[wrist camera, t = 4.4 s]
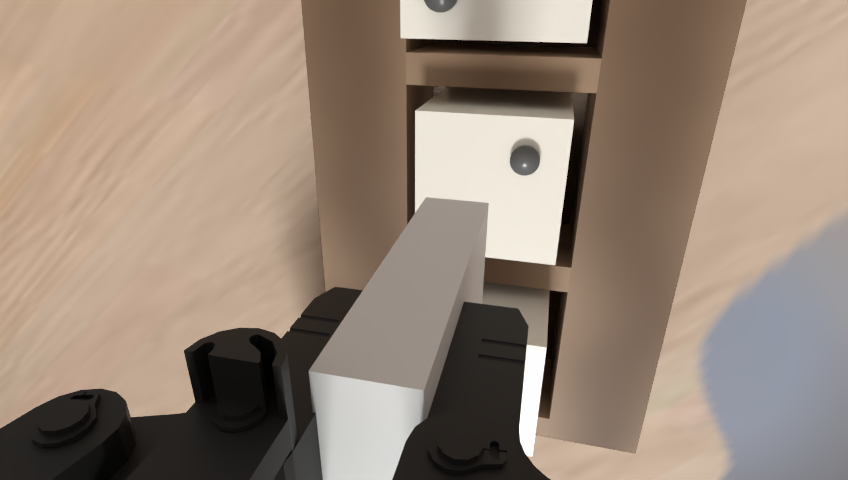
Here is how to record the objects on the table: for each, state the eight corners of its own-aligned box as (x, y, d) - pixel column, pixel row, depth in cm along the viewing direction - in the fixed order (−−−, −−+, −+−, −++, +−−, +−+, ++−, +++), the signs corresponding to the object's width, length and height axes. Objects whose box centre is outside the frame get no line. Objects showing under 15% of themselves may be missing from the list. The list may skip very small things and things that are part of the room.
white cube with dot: (433, 352, 24) (403, 435, 20) (435, 261, 22) (401, 329, 18) (538, 369, 23) (532, 460, 19) (550, 275, 21) (546, 351, 17)
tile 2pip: (444, 200, 23) (413, 251, 18) (446, 86, 21) (413, 111, 16) (557, 211, 22) (555, 268, 17) (572, 92, 20) (574, 121, 15)
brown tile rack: (364, 346, 27) (334, 397, 24) (338, -176, 18) (283, -219, 14) (625, 388, 24) (635, 453, 21) (754, -203, 15) (811, -265, 12)
